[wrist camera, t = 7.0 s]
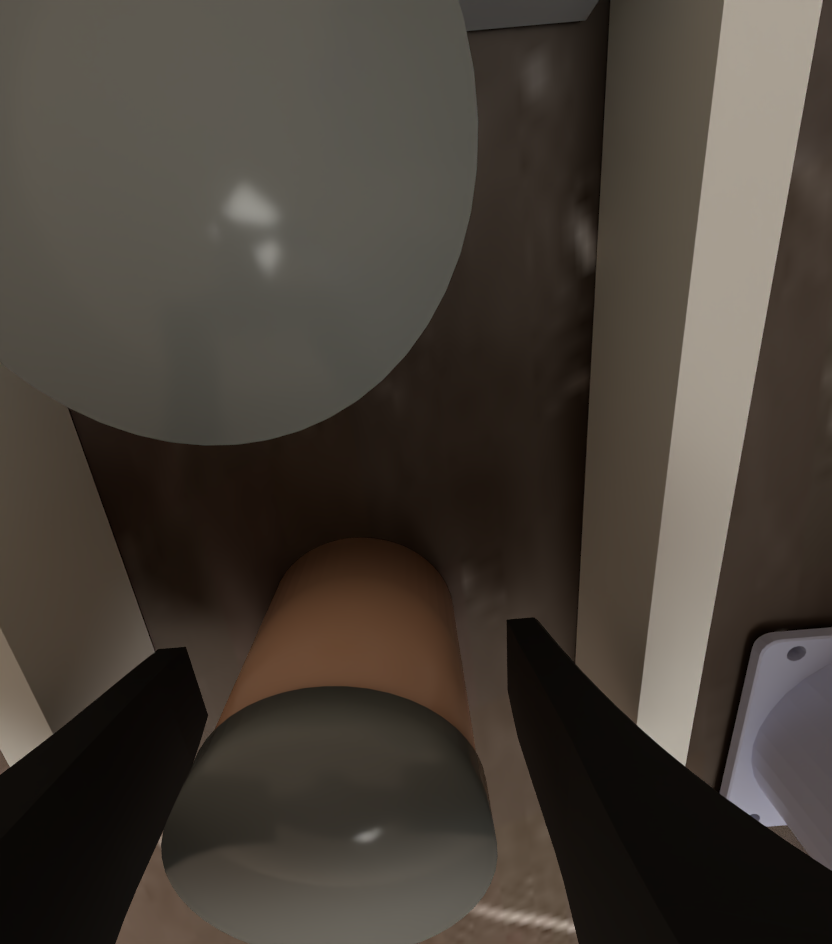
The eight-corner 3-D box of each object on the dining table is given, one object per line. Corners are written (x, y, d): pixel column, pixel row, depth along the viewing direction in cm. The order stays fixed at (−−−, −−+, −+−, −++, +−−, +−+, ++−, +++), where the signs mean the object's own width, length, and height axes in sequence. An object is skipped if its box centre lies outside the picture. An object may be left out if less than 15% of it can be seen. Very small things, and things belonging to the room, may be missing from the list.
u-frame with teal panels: (704, -303, 7) (973, -836, 4) (615, 666, 14) (682, 781, 10) (-236, -218, 7) (-795, -668, 4) (133, 706, 14) (48, 835, 10)
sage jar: (423, 69, 9) (464, -374, 3) (441, 355, 10) (486, 422, 5) (144, 94, 9) (-347, -296, 3) (211, 375, 10) (-13, 466, 5)
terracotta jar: (456, 530, 12) (502, 734, 6) (457, 684, 14) (493, 949, 8) (255, 538, 12) (122, 753, 6) (283, 692, 14) (198, 964, 8)
